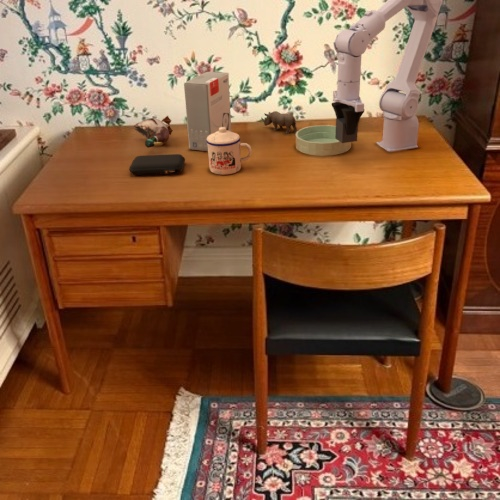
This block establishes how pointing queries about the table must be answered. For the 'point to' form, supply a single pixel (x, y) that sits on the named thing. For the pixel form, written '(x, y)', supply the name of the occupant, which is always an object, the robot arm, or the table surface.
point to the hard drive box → (207, 107)
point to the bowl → (320, 141)
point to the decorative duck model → (154, 131)
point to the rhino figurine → (280, 121)
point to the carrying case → (157, 164)
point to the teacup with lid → (225, 152)
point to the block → (344, 132)
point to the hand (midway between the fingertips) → (346, 131)
